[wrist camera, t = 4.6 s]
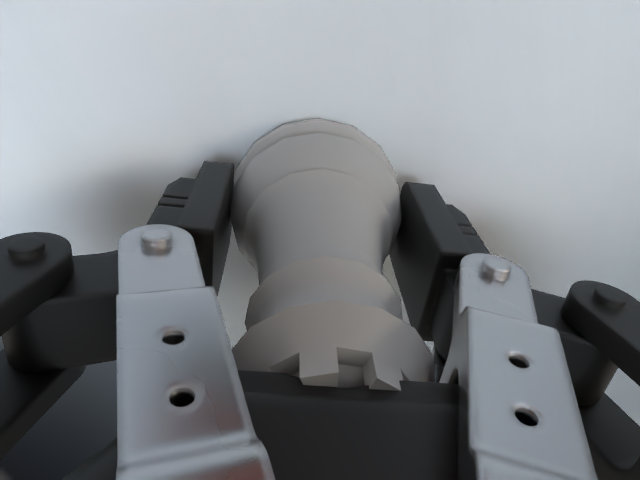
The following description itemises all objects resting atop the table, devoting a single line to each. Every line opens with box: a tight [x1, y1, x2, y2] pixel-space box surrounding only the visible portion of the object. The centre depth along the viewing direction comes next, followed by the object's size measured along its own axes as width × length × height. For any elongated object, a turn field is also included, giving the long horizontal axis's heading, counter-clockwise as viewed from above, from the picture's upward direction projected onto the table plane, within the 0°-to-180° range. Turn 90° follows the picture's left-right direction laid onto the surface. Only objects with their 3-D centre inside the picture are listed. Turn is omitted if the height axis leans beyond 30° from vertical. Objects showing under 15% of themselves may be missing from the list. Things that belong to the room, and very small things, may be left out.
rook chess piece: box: [230, 118, 435, 391], centre depth 10 cm, size 4×4×8 cm
